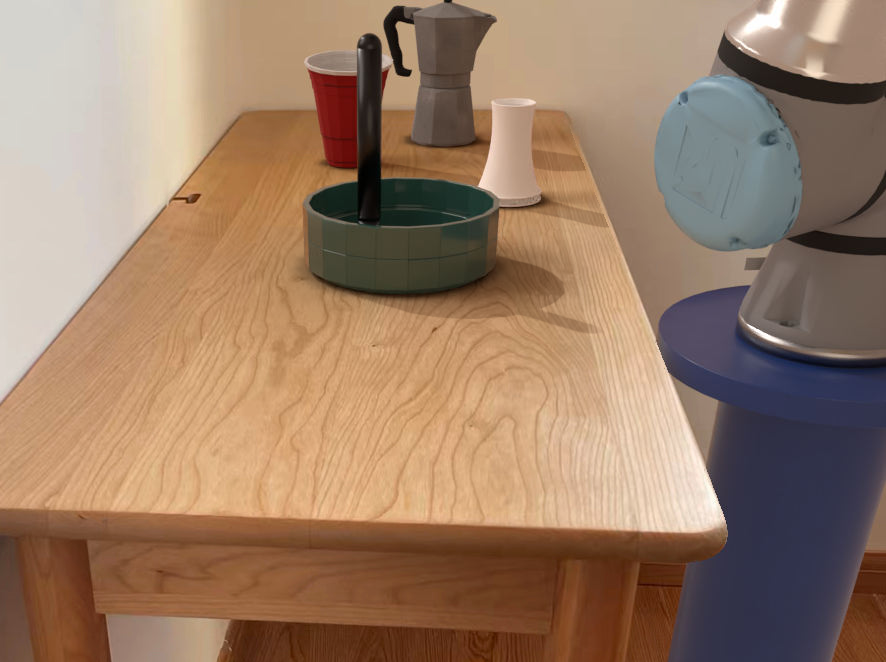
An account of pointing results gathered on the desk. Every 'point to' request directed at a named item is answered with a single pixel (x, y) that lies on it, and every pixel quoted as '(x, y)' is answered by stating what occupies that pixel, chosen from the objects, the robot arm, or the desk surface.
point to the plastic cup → (338, 102)
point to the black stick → (369, 128)
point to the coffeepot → (441, 68)
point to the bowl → (402, 236)
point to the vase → (511, 154)
